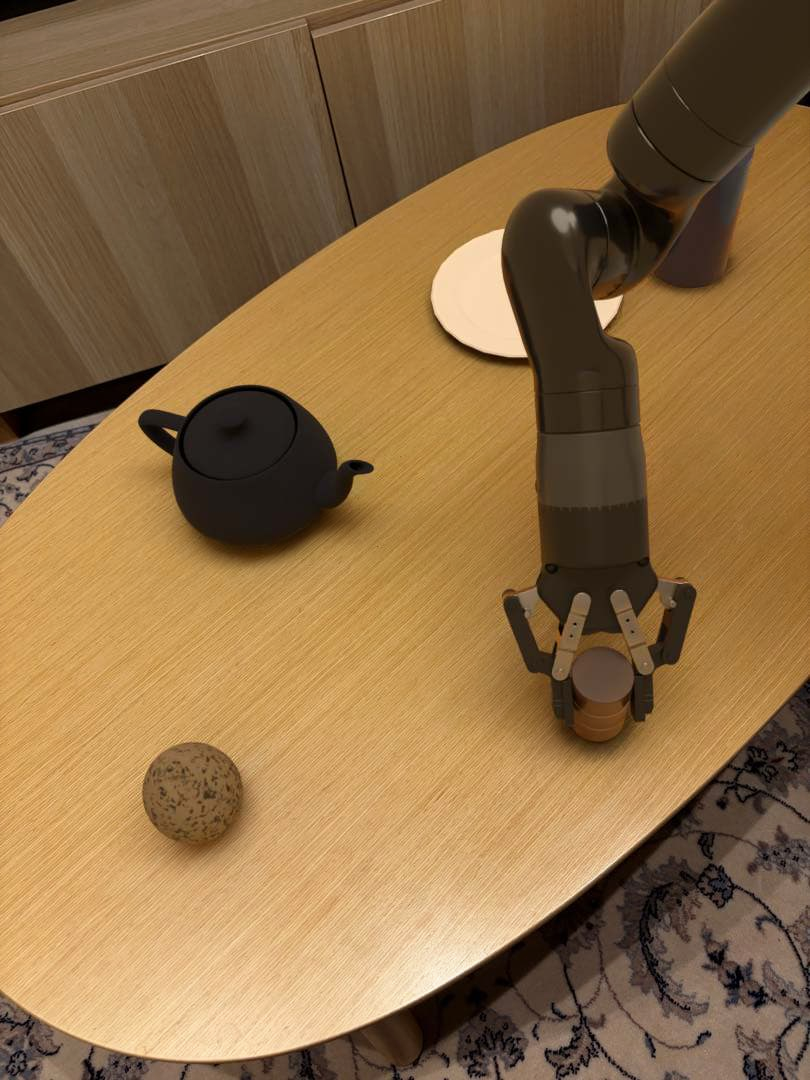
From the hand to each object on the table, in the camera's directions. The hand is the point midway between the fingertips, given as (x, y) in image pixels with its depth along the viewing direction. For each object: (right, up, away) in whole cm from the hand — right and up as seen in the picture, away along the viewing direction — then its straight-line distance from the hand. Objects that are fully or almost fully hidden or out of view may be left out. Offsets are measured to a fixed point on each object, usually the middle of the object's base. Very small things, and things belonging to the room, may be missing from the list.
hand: (603, 718), depth 64 cm
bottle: (+17, +44, +32) cm, 57 cm away
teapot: (-28, +17, +21) cm, 39 cm away
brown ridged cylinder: (0, -1, +4) cm, 4 cm away
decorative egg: (-30, -8, +5) cm, 32 cm away
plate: (-1, +40, +32) cm, 51 cm away
